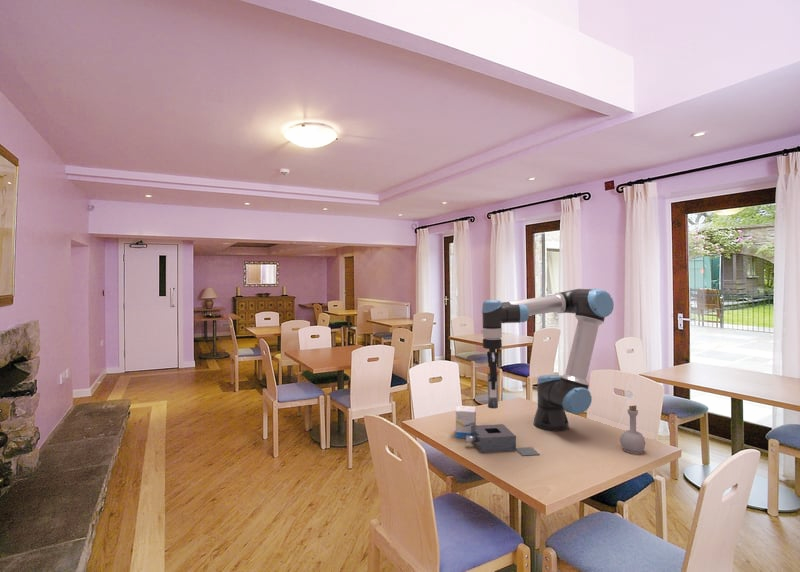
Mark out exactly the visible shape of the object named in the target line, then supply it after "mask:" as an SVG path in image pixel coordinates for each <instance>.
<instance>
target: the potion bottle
mask: <svg viewBox="0 0 800 572" xmlns="http://www.w3.org/2000/svg"><path fill="white" fill-rule="evenodd" d="M628 407H629V408H628V409H627V413H628V416H629V430H628V429H627V430H625V431H623V432H622V434H621V436H620V439H619V441H620V445H621V446H622V450H623V451H624V452H625V453H628V452H629V453H628V454H632V453H634V454H633V455H640V453H642V452H643V451H645V447H646V440H645V437H644V436H643V433H641V432H639V431H637V416H638V414H639V410H638V409H637V405H629V406H628ZM642 454H643V453H642Z"/></svg>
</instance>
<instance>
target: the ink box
mask: <svg viewBox="0 0 800 572" xmlns="http://www.w3.org/2000/svg"><path fill="white" fill-rule="evenodd" d="M476 408H477V407H476V406H474V405H473V406H472V405H456V410H455V438H456V439H458V438H459V439H466V436H471V426H476V425H477V409H476Z"/></svg>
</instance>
